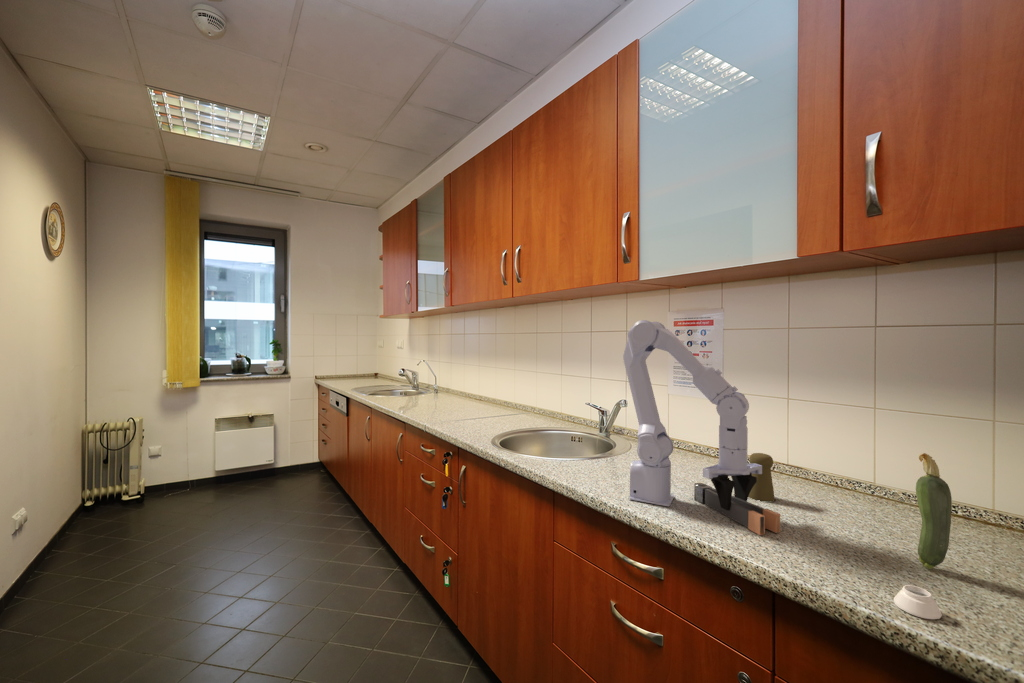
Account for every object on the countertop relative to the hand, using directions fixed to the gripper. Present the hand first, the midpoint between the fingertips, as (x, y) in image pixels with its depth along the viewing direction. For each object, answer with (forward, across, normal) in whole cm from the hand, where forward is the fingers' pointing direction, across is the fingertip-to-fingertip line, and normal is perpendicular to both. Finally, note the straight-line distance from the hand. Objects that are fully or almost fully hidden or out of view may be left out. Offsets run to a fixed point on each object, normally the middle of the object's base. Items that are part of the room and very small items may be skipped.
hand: (732, 507), depth 97 cm
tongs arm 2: (+2, +1, -1) cm, 3 cm away
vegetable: (+2, +16, -28) cm, 32 cm away
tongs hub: (+2, 0, +10) cm, 10 cm away
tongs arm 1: (+2, -1, -1) cm, 3 cm away
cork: (+2, +16, +8) cm, 18 cm away
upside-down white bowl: (+2, 0, -35) cm, 35 cm away
